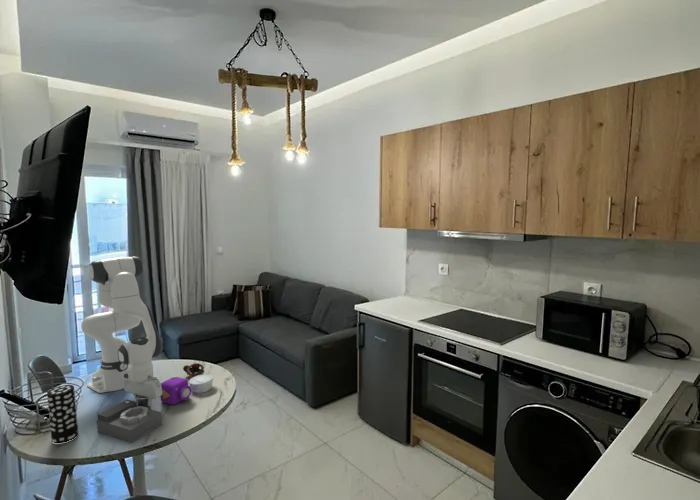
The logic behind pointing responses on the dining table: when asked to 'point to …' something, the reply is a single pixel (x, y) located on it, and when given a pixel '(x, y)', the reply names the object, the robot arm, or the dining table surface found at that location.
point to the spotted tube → (62, 413)
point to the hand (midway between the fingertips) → (144, 403)
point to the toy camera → (175, 390)
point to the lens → (142, 401)
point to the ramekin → (201, 383)
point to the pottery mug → (193, 370)
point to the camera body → (128, 420)
